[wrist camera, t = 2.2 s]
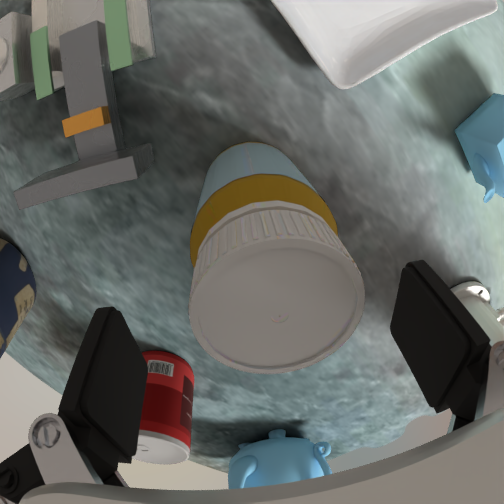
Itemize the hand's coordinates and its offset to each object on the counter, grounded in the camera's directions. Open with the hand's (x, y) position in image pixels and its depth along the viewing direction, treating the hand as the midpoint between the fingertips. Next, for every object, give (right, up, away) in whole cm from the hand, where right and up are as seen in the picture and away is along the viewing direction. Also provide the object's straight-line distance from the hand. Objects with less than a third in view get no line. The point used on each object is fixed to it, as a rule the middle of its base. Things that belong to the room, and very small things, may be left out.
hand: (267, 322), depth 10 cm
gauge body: (-14, +19, +6) cm, 25 cm away
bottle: (-1, +7, +14) cm, 16 cm away
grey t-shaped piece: (-11, +13, +8) cm, 19 cm away
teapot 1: (+3, -31, +36) cm, 47 cm away
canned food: (-11, -12, +24) cm, 29 cm away
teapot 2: (+21, +13, +12) cm, 28 cm away
